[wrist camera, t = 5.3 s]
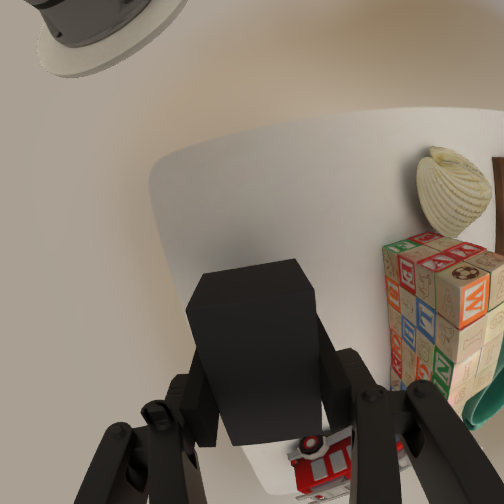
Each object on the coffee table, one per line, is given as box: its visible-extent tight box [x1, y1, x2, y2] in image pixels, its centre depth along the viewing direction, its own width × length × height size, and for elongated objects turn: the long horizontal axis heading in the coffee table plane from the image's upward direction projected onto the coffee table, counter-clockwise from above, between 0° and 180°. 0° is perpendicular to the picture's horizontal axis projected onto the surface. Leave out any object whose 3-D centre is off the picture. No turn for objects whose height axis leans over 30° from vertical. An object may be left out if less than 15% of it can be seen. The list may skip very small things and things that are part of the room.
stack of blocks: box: [382, 232, 504, 417], centre depth 20 cm, size 21×6×12 cm, turn 16°
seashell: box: [416, 146, 492, 238], centre depth 21 cm, size 8×8×8 cm
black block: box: [186, 259, 322, 446], centre depth 13 cm, size 9×5×4 cm, turn 10°
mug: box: [462, 335, 504, 431], centre depth 24 cm, size 17×13×10 cm
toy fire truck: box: [287, 425, 412, 504], centre depth 25 cm, size 9×19×10 cm, turn 124°
